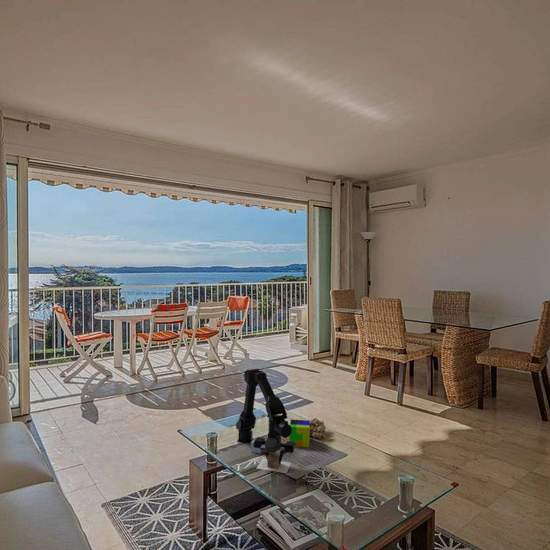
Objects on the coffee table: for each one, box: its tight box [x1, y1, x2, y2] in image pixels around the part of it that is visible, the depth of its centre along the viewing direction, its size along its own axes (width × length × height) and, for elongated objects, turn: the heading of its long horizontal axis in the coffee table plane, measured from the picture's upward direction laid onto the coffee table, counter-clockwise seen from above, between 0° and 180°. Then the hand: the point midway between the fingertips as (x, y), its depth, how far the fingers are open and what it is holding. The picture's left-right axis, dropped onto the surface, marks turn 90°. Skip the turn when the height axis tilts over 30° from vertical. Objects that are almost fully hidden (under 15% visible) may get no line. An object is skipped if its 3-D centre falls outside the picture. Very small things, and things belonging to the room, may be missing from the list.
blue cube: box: [250, 438, 263, 454], centre depth 200 cm, size 5×5×5 cm
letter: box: [256, 458, 292, 474], centre depth 185 cm, size 14×10×1 cm
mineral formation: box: [309, 417, 327, 439], centre depth 221 cm, size 8×13×15 cm
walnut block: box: [267, 451, 280, 469], centre depth 185 cm, size 5×5×5 cm
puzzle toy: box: [289, 419, 311, 448], centre depth 211 cm, size 10×10×10 cm
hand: (274, 463), depth 185 cm, fingers closed on walnut block, 5 cm apart
